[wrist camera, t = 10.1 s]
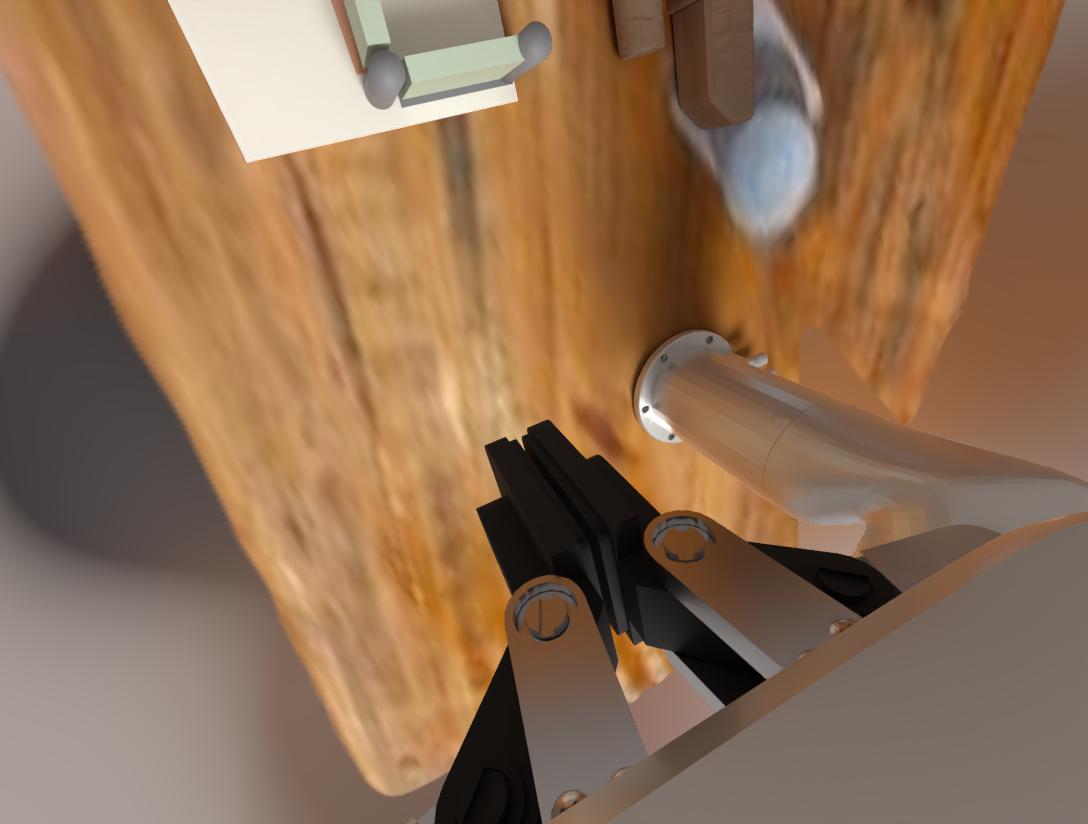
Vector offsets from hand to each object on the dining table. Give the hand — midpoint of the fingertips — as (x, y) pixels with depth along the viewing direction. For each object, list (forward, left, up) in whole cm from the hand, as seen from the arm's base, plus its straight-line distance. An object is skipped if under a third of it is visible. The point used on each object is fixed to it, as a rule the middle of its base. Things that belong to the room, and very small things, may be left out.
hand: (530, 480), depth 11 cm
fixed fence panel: (-7, -12, -27) cm, 31 cm away
